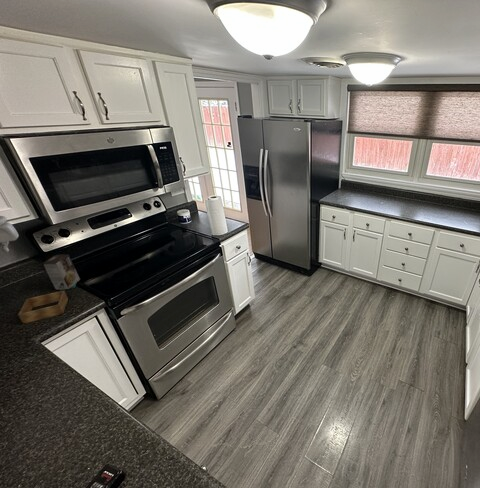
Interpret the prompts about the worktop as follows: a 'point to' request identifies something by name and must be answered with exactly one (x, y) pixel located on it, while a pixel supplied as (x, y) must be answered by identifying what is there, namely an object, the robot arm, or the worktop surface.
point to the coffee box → (61, 271)
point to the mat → (70, 287)
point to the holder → (30, 316)
